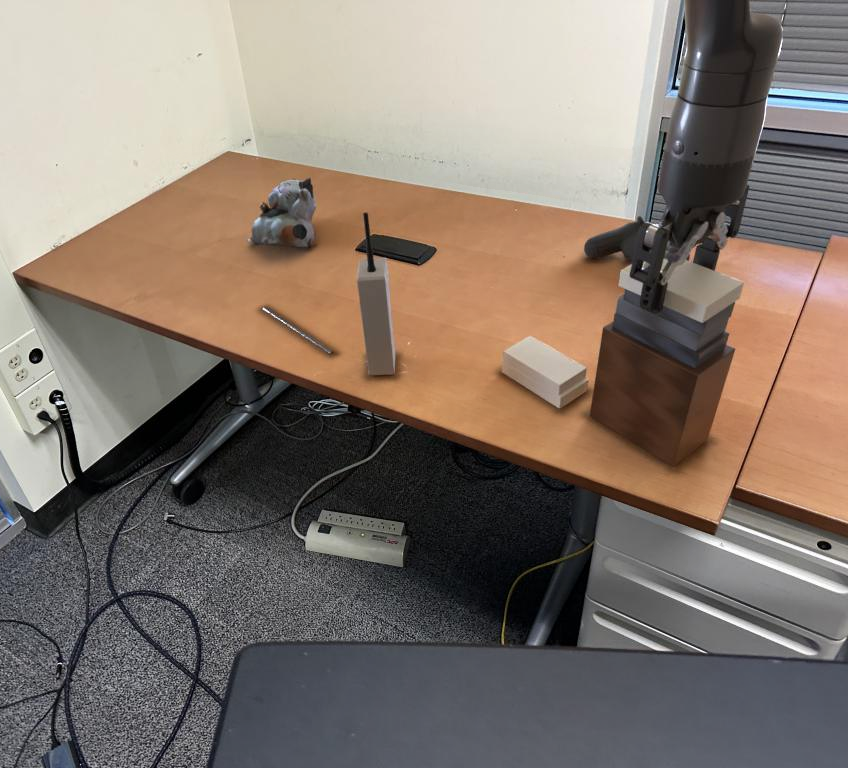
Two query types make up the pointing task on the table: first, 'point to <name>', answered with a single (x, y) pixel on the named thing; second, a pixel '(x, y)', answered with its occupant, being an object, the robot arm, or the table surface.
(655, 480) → the table surface
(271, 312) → the rod
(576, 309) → the table surface
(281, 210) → the lucky cat figurine
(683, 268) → the white book
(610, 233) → the gaming controller
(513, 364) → the white stack
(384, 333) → the vintage mobile phone
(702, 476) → the table surface
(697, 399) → the brown wooden tall block
